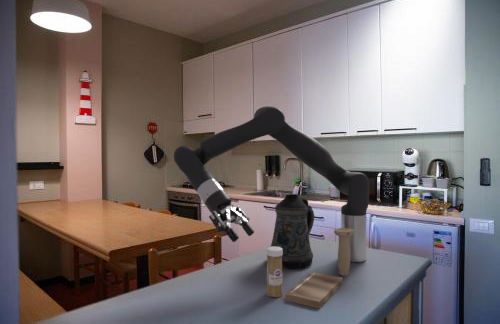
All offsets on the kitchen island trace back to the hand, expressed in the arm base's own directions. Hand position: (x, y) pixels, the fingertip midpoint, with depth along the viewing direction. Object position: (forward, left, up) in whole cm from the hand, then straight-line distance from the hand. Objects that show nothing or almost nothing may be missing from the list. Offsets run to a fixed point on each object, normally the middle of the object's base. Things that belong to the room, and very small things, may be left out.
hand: (244, 237), depth 101 cm
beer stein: (-31, +1, -16) cm, 35 cm away
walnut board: (-9, +19, -15) cm, 26 cm away
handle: (-27, +22, -16) cm, 38 cm away
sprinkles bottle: (-1, +10, -16) cm, 19 cm away
